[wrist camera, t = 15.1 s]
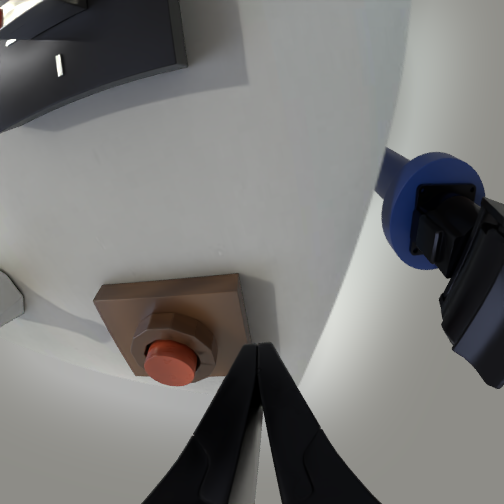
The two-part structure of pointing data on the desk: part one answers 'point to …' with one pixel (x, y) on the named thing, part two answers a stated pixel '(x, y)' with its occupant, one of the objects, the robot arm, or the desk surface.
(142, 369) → the button block
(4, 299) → the flask
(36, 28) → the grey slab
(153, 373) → the power button
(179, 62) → the switch base
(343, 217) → the desk surface
